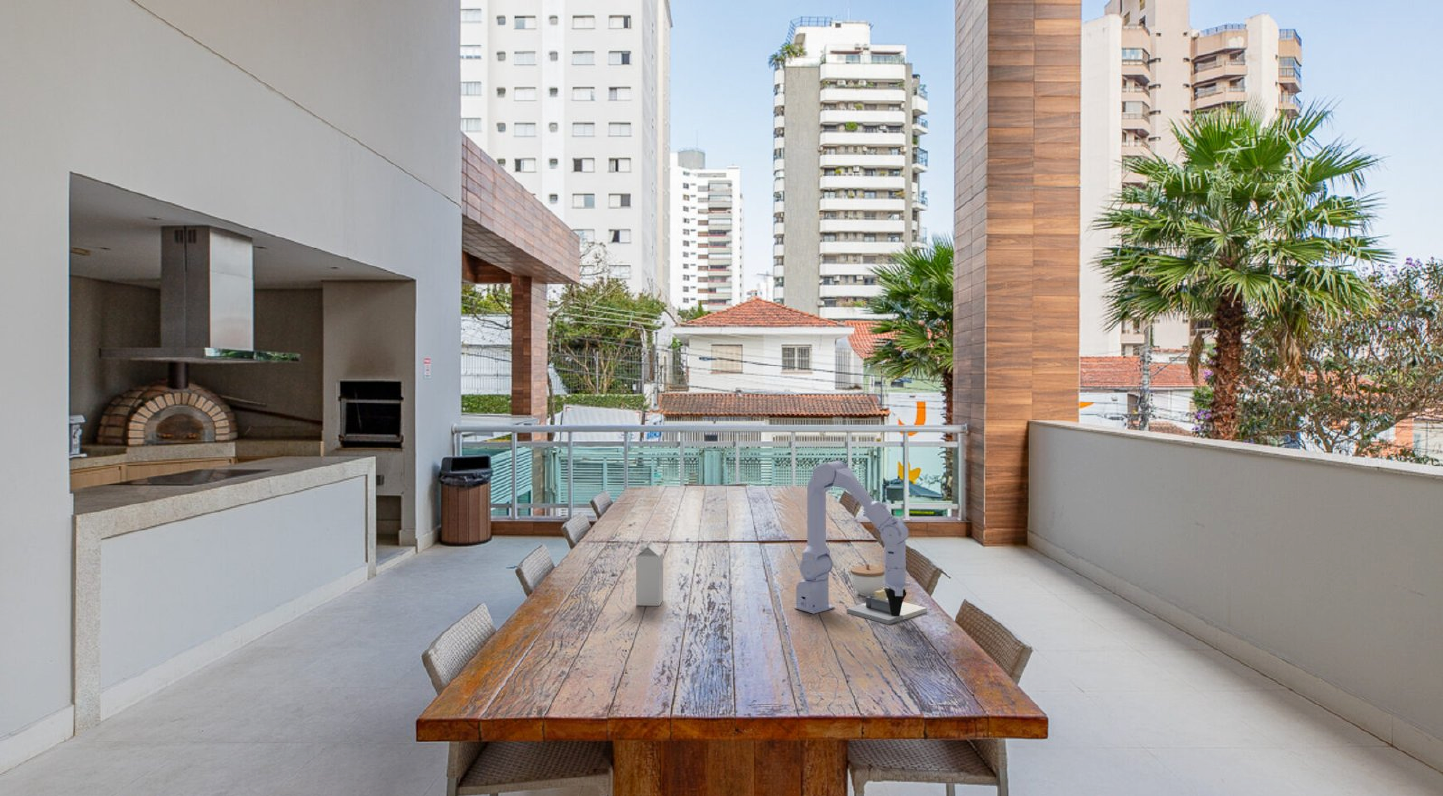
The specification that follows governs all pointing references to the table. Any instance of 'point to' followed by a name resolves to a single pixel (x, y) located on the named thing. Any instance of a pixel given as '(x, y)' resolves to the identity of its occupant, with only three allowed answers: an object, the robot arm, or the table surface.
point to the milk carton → (649, 575)
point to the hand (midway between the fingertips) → (895, 615)
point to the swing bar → (877, 603)
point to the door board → (886, 617)
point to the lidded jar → (867, 579)
